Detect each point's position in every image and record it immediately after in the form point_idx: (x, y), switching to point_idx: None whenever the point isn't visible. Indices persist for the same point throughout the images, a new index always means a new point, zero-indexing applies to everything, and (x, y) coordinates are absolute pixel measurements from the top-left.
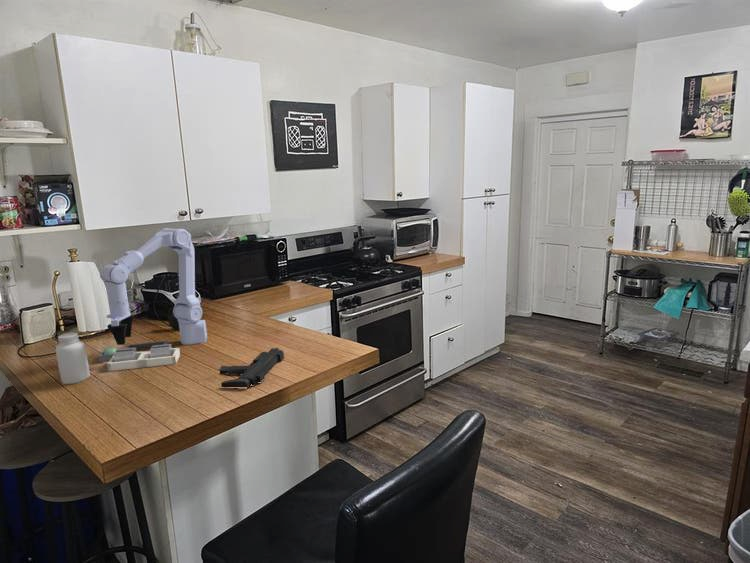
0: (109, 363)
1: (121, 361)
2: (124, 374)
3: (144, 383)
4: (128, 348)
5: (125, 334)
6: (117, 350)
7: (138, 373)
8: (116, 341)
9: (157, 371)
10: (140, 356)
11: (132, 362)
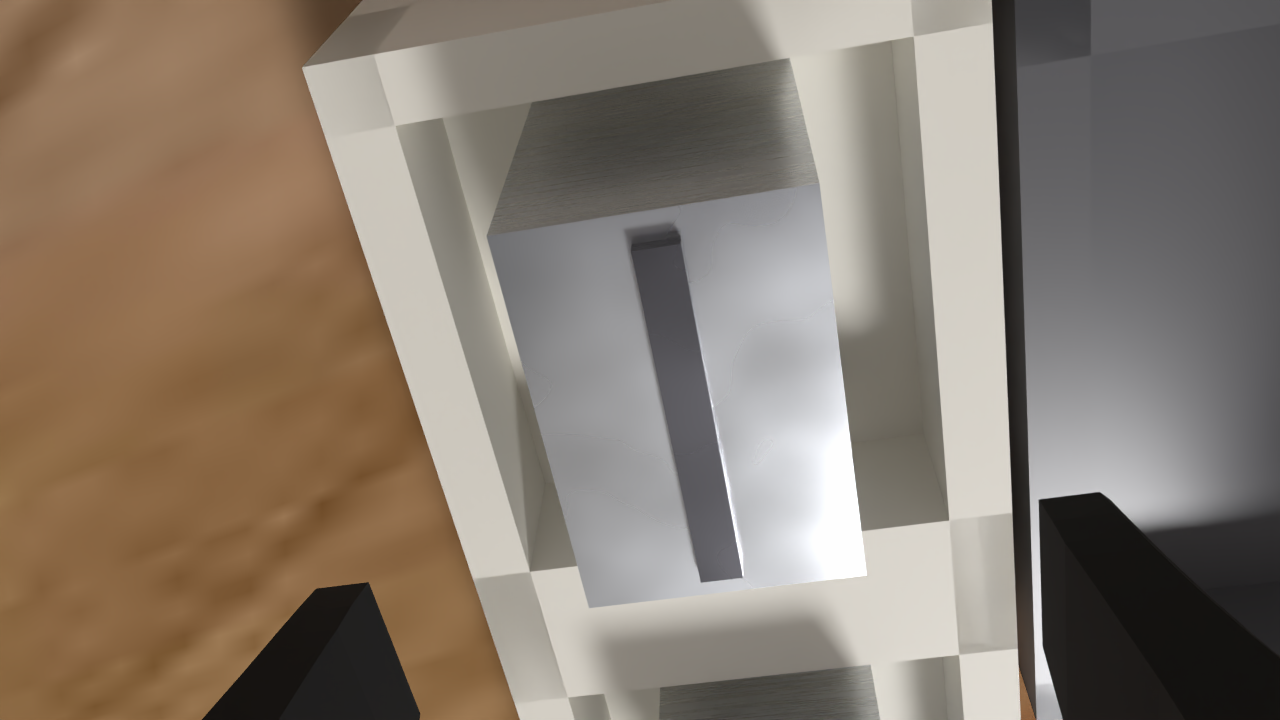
0: (337, 122)
1: (452, 330)
2: (353, 310)
3: (53, 683)
4: (828, 446)
5: (1070, 616)
6: (669, 271)
7: (394, 501)
8: (254, 671)
9: (463, 706)
10: None
11: (455, 507)
